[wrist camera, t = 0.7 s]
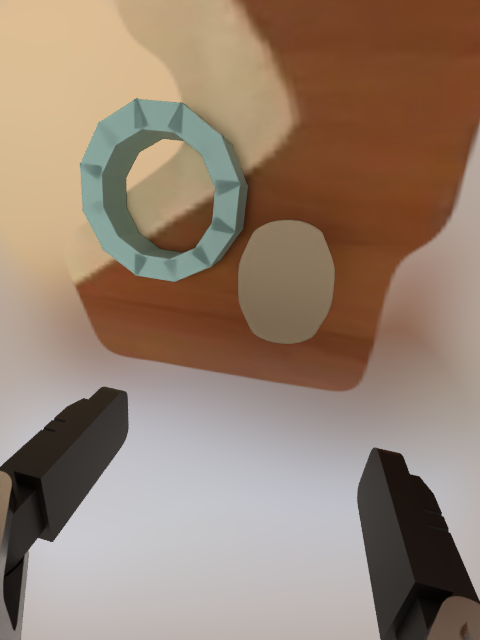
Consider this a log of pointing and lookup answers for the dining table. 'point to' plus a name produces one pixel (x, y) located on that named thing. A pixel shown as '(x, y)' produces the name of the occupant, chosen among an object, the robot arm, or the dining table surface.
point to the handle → (286, 281)
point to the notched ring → (110, 187)
